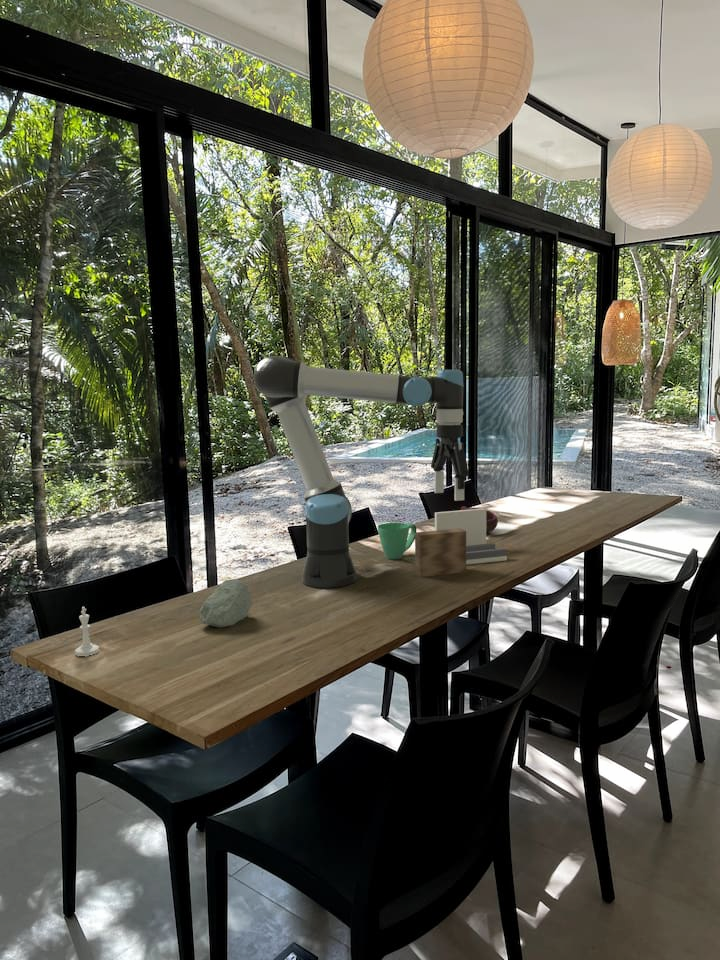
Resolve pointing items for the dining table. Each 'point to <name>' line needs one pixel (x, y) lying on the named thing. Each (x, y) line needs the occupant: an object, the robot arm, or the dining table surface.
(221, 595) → the decorative stone
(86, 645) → the chess piece
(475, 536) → the track sill
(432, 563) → the door slab
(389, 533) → the mug
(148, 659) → the dining table surface
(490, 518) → the bowl
